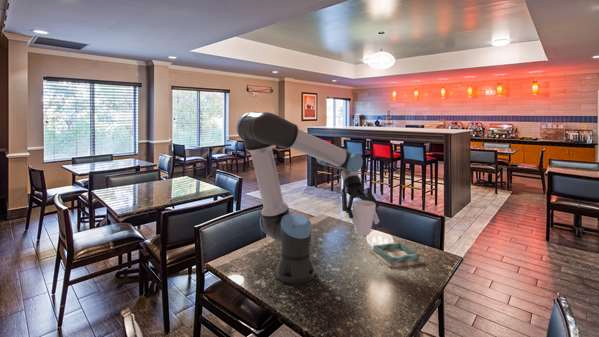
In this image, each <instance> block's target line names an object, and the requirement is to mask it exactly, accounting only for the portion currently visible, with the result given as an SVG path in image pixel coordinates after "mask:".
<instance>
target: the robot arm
mask: <svg viewBox="0 0 599 337" xmlns="http://www.w3.org/2000/svg"><path fill="white" fill-rule="evenodd" d="M236 131H237V134H238V137H239V138H240V139H241V140H242V141H243V144H244V149H245V150H246V151H247V152H248V153H250V156H251V159H252V160H251V161H252V163H253V169H254V172H255V177H256V181H257V186H258V191H259V194H260V198H261V204H262V208H261V210H260V215H261V216H260V217H259V226H260V229H261V231H262V232H263V233H264V234H265V235H266V236H268V237H270V238H271V239H272V240H274V241H276V242H277V243H279V244H280V259H279V260H278V264H277V267H276V272H275V273H276V275H275V276H276V277H277V279H278V280H279V281H281V282H282V283H286V284H289V285H290V284H291V285H302V284H306V283H308V282H311V281H312V280H313V279H314V278H315V272H316V271H315V267H314V262H313V260H312V255H311V253H312V252H311V249H312V224H311V221H310V219H309V218H308V217H307V216H306V215H303V214H298V213H290V208H289V205H288V203H285V202H284V199H283V194H282V189H281V183H280V180H279V175H278V170H277V166H276V161H275V157H274V152H273V147H274V146H276V147H280V148H283V149H285V150H288V149H292V150H295V151H298V152H300V153H302V154H305V155H308V156H310V157H313V158H315V159H316V162H317V163H318V164H319V165H322V166H327V167H330V168H334V169H337V170H339V173H340V176H341V179H342V181H343V185H344V188H342V189H341V190H340V195H341V206H342V207H341V209H342V211H343V212H345V213H346V214H347V215H348V218H349V219H350V220H351V222H352V225H353V227H355V226H356V225H357V224H358V222H357V219H356V216H355V213H354V210H353V202H354V199H356V198H357V199H360V200H365V201H371V202H374V203H375V204H376V208H375V212H374V217H373V222H374V224H375V225H378V224H379V222H380V219H379V212H378V210H377V209H379V207H380V204H379V202H378V201H377V199H376V198H375V196H374V195H373V193H372V191H371V189H370V187H367V188H364V187H363V185H362V180H361V179H360V178H361V177H360V176H359V171H360V170H361V169H362V167H363V165H364V164H363V162H364V160H363V157H362V156H361V154H358V153H356V152H351V151H350V149H349V150H348V149H347V148H342V147H339V146H337V145H335V144H332V143H330V142H328V141H326V140H323V139H321V138H319V137H317V136H315V135H313V134H311V133H308V132H306V131H304V130H302V129H299V126H298V125H297V124H296V123H293V122H290V121H289V120H287V119H285V118H284V117H281V116H279V115H278V114H275V113H272V112H268V111H267V112H266V111H264V112H260V111H251V112H250V111H249V112H246V113H244V114H243V115H241V116H240V117H239V119H238V121H237V124H236ZM347 194H348V195H349V197H348V198H347ZM347 199H348V201H347Z"/></svg>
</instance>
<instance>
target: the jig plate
mask: <svg viewBox="0 0 599 337" xmlns="http://www.w3.org/2000/svg"><path fill="white" fill-rule="evenodd" d="M372 247H373V248H372V249H369V250H368V252H369V253H370V254H372V255H373V256H374V257H375V258H377V259H378V260H379V261H380V262H381V263H382V264H384V265H385V266H386V267H388V268H389V269H395V268H400V267H406V266H414V265H419V264H420V265H421V264H425V260H424V259H422V258H421V257H420V256H421V254H420V253H419V252H416V251H415V250H414V249H412V248H411V247H408V245H405V244H404V243H402V242H401V241H398V242H390V243H384V244H383V243H382V244H375V245H373V246H372Z"/></svg>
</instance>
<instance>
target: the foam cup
mask: <svg viewBox="0 0 599 337" xmlns="http://www.w3.org/2000/svg"><path fill="white" fill-rule="evenodd" d="M375 208H376V204H375V203H374V202H371V201H365V200H361V199H360V200H353V203H352V210H354V213H355V216H356V219H357V222H358V224H357V225H356V226H354V232H355V234H357V235H359V236H369V235H370V234H371V231H372V226H373V222H374V219H373V217H374V212H375Z"/></svg>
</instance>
